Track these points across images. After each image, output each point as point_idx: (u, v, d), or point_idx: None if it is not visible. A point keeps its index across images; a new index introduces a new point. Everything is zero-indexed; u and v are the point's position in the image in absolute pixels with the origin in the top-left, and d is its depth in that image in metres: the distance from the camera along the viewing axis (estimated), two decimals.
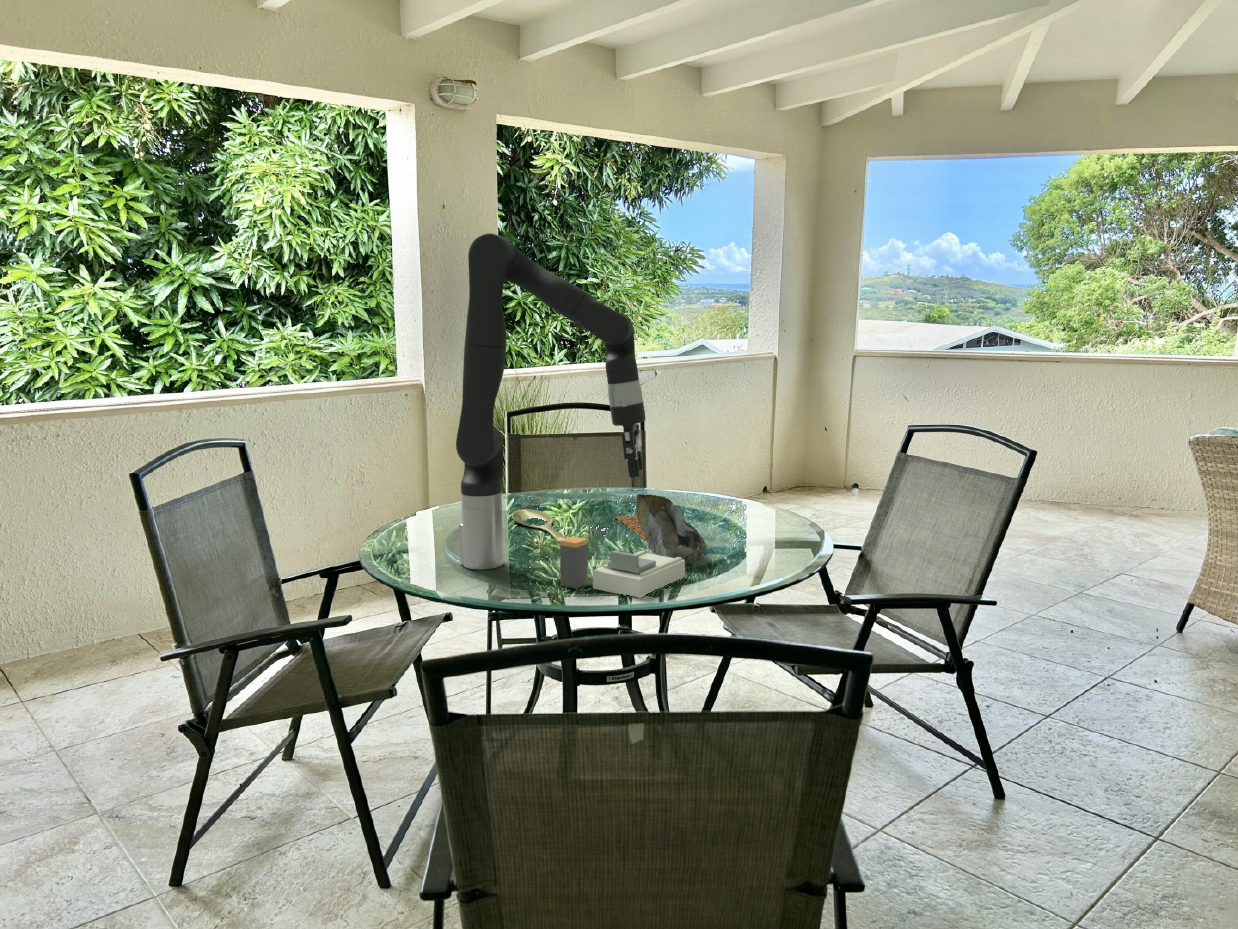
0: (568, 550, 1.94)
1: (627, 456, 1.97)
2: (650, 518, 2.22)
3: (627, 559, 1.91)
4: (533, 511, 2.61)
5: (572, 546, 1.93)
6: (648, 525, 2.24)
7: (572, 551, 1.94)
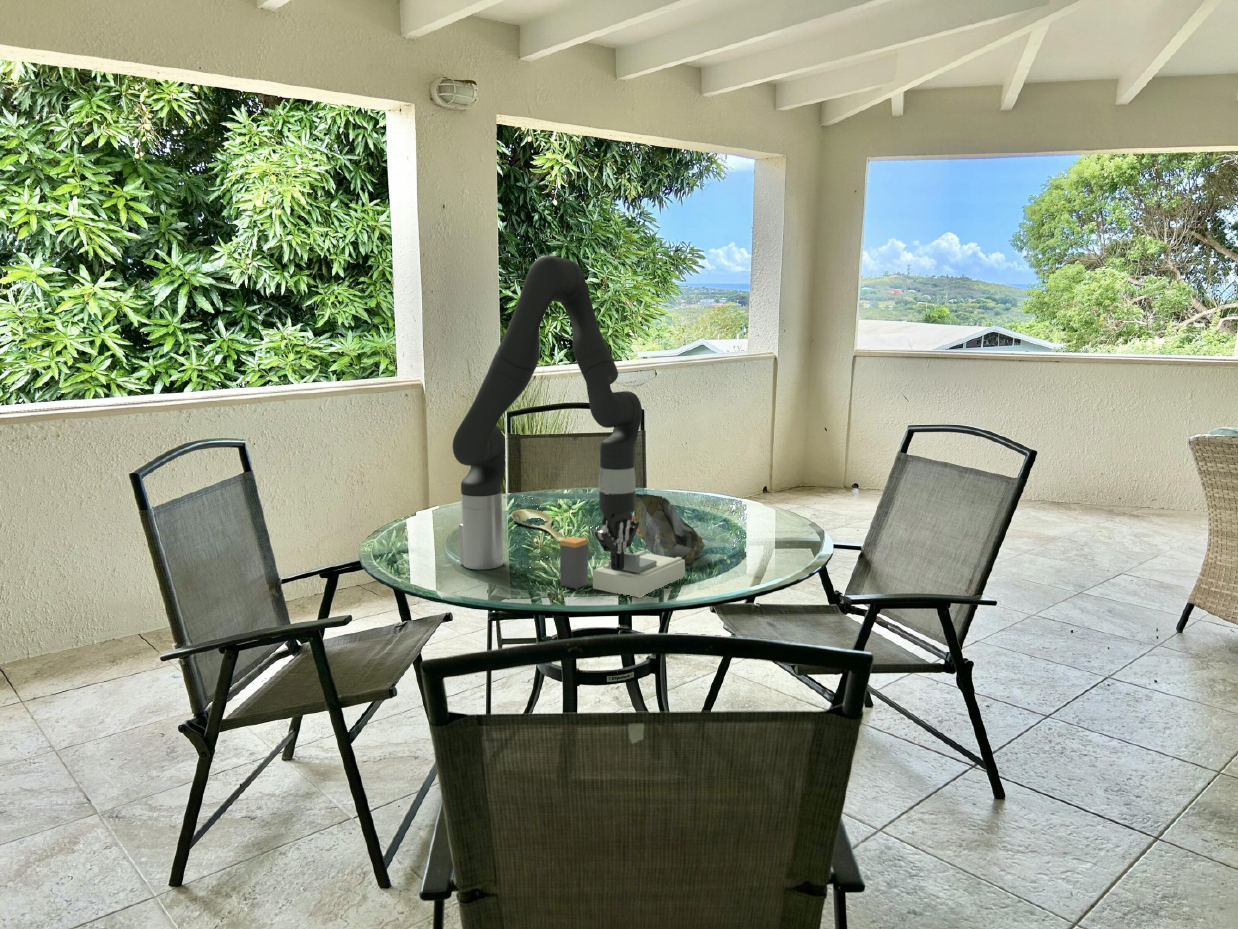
0: (568, 550, 1.94)
1: (606, 550, 1.88)
2: (647, 518, 2.23)
3: (628, 559, 1.92)
4: (533, 511, 2.62)
5: (572, 546, 1.93)
6: (645, 525, 2.25)
7: (572, 551, 1.94)
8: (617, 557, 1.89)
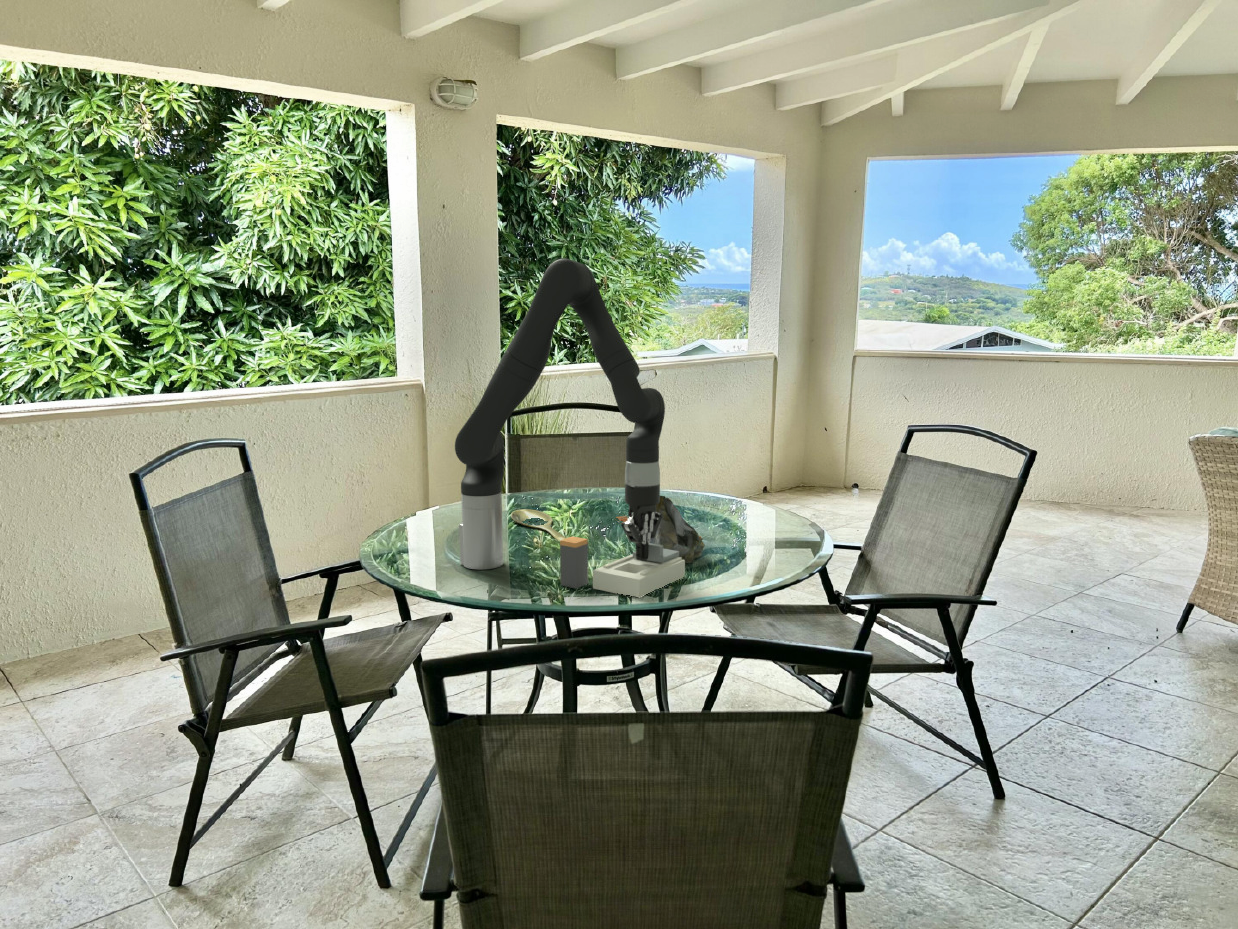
0: (568, 550, 1.94)
1: (632, 541, 1.95)
2: None
3: (652, 549, 1.99)
4: (532, 511, 2.62)
5: (572, 546, 1.93)
6: None
7: (572, 551, 1.94)
8: (642, 547, 1.96)
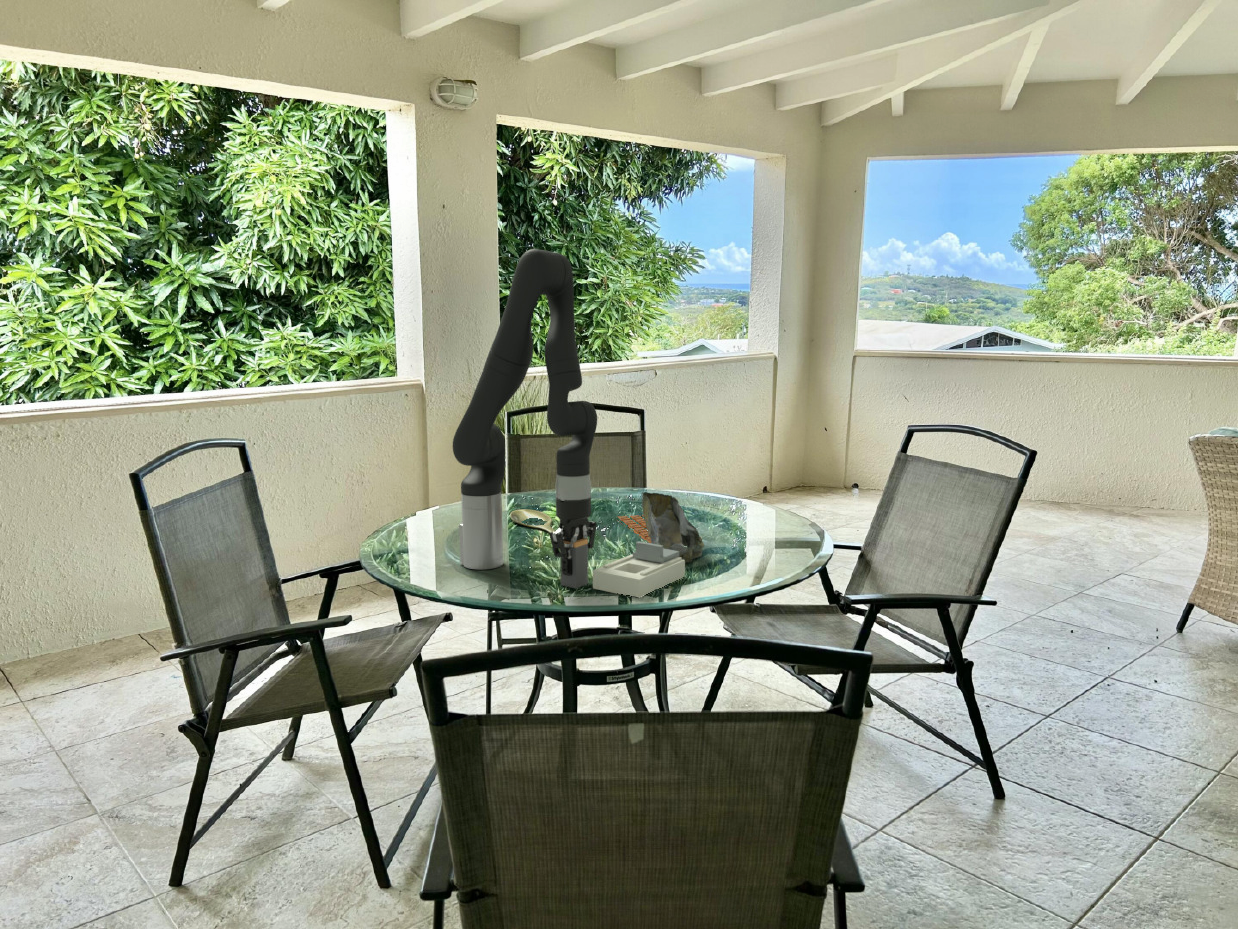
0: None
1: (557, 555, 1.92)
2: (652, 516, 2.24)
3: (652, 549, 1.99)
4: (531, 511, 2.62)
5: None
6: (650, 523, 2.26)
7: None
8: (568, 562, 1.93)
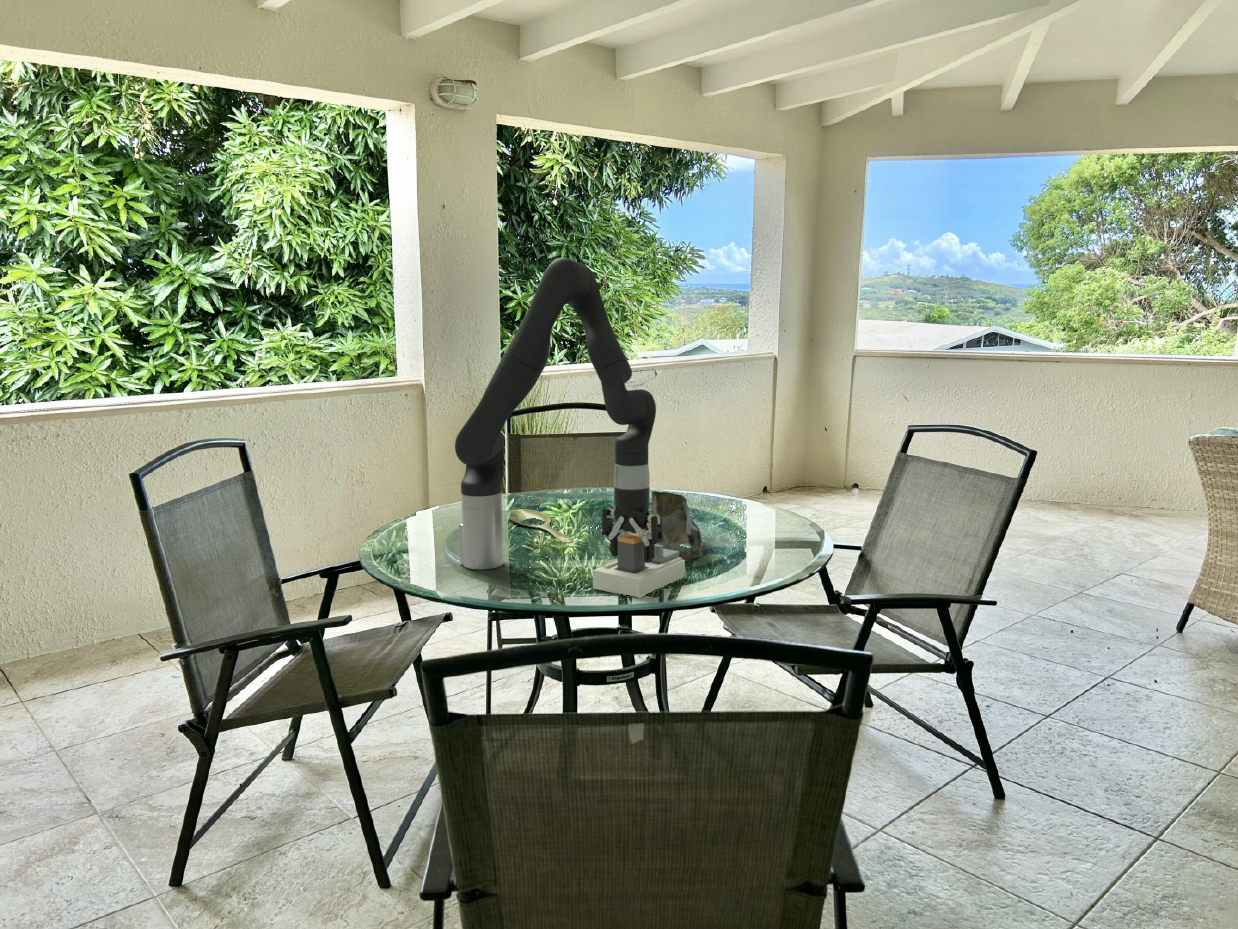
0: None
1: None
2: None
3: None
4: (529, 511, 2.62)
5: None
6: None
7: None
8: (611, 543, 1.97)
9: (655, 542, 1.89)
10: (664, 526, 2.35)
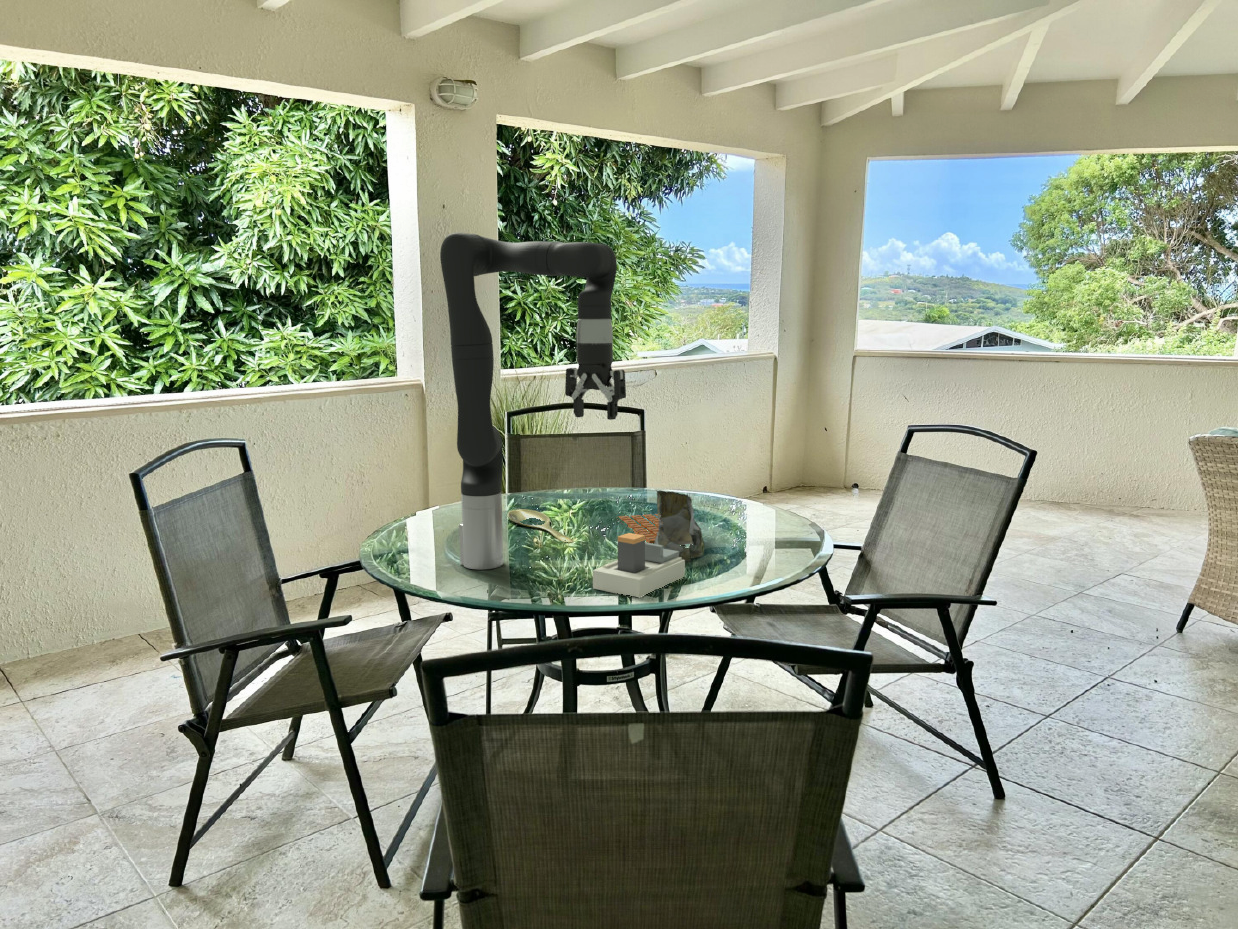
0: None
1: None
2: None
3: (652, 549, 1.99)
4: (528, 511, 2.62)
5: None
6: (659, 521, 2.28)
7: None
8: (574, 403, 1.94)
9: (618, 397, 1.87)
10: (669, 525, 2.35)
